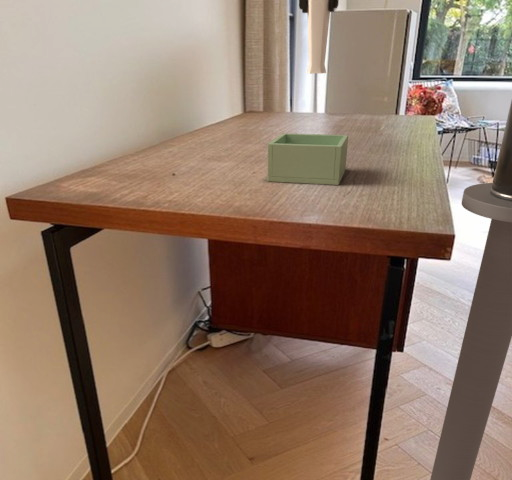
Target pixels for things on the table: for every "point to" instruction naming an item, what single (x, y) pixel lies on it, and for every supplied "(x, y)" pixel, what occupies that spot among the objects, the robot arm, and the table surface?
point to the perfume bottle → (317, 34)
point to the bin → (307, 158)
